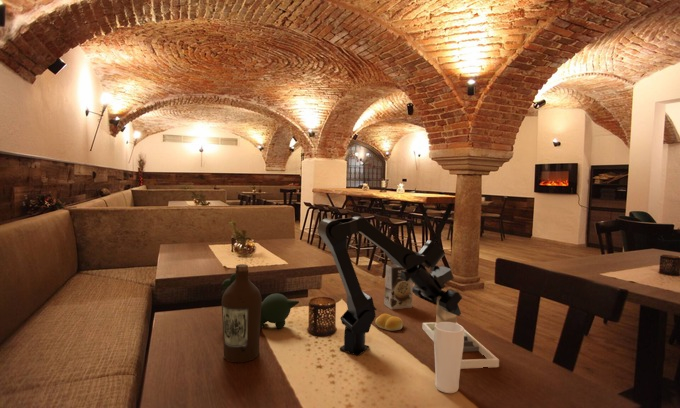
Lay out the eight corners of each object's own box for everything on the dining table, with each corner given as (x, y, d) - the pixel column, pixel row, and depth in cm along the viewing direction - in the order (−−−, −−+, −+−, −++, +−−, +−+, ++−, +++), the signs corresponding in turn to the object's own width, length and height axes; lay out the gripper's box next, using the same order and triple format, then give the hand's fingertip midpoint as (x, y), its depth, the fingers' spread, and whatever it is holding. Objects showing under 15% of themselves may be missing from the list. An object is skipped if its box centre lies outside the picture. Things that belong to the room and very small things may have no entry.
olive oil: (232, 345, 116) (233, 260, 114) (267, 348, 113) (267, 262, 112) (214, 361, 105) (214, 268, 103) (251, 366, 103) (252, 271, 101)
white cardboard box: (391, 310, 149) (392, 267, 148) (384, 304, 155) (385, 264, 154) (412, 307, 152) (414, 266, 151) (404, 302, 158) (406, 262, 157)
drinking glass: (439, 378, 99) (442, 319, 98) (466, 387, 95) (468, 326, 94) (427, 389, 94) (429, 327, 93) (454, 399, 89) (457, 334, 88)
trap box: (498, 367, 105) (499, 359, 105) (457, 368, 104) (457, 361, 104) (455, 327, 133) (456, 321, 133) (422, 328, 131) (422, 322, 131)
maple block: (456, 335, 125) (457, 298, 125) (444, 337, 124) (445, 299, 123) (447, 330, 130) (448, 294, 129) (435, 332, 128) (437, 295, 127)
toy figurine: (221, 335, 127) (298, 332, 124) (216, 276, 125) (293, 273, 123) (231, 324, 136) (303, 321, 134) (227, 269, 135) (299, 266, 133)
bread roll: (395, 333, 127) (395, 321, 127) (372, 326, 133) (372, 315, 132) (407, 326, 134) (408, 314, 133) (385, 320, 139) (385, 309, 139)
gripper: (458, 265, 115) (486, 299, 120) (421, 253, 132) (447, 283, 137) (434, 294, 112) (464, 328, 117) (400, 278, 130) (427, 308, 135)
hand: (450, 310), depth 127 cm, fingers open, 9 cm apart
